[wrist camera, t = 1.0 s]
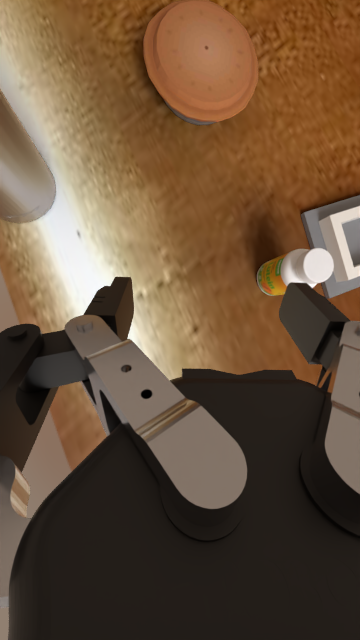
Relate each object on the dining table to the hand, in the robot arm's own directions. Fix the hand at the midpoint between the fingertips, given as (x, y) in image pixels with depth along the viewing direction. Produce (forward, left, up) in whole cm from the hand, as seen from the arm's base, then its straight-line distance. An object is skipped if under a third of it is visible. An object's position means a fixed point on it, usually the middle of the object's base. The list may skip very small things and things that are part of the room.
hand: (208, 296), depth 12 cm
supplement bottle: (+1, +17, -22) cm, 28 cm away
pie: (-29, +15, -22) cm, 40 cm away
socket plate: (0, +32, -22) cm, 39 cm away
